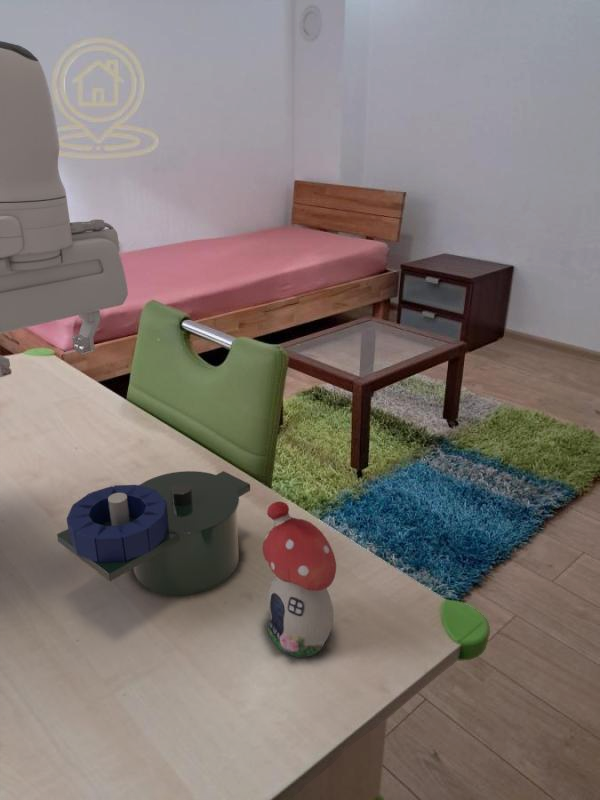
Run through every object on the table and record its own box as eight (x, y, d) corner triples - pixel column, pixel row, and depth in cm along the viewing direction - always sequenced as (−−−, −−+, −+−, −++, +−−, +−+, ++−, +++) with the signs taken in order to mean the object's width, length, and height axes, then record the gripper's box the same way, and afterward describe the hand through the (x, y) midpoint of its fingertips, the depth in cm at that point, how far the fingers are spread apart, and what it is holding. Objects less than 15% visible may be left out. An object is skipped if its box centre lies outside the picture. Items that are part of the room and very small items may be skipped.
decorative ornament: (255, 611, 71) (252, 498, 65) (308, 595, 74) (310, 485, 68) (286, 672, 64) (287, 550, 57) (344, 652, 66) (351, 533, 60)
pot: (205, 509, 90) (199, 424, 84) (275, 548, 82) (274, 458, 76) (59, 590, 74) (41, 493, 69) (128, 649, 66) (114, 544, 61)
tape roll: (61, 564, 65) (56, 540, 64) (83, 508, 74) (80, 486, 73) (162, 560, 66) (159, 536, 64) (171, 504, 75) (170, 483, 74)
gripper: (98, 214, 70) (112, 333, 76) (-105, 237, 56) (-69, 382, 61) (132, 220, 66) (144, 345, 72) (-76, 247, 52) (-40, 400, 58)
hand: (44, 363), depth 66 cm, fingers open, 8 cm apart
